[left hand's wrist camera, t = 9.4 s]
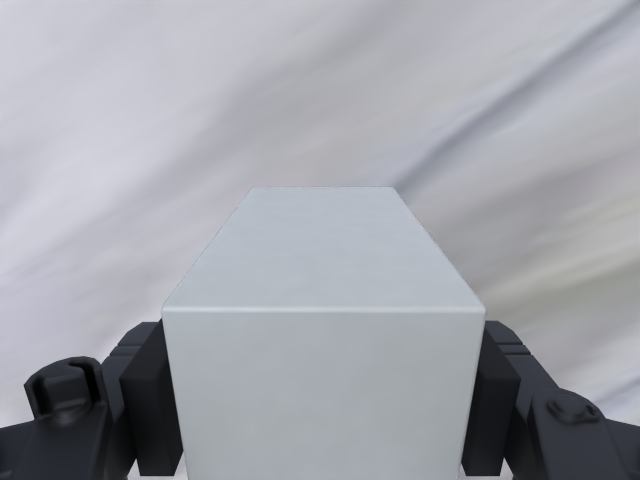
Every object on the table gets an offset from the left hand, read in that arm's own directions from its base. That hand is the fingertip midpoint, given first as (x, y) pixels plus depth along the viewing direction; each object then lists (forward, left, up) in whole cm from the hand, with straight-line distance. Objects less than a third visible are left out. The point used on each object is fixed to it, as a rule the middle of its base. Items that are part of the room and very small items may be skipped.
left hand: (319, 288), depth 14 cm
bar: (-7, +7, -1) cm, 10 cm away
